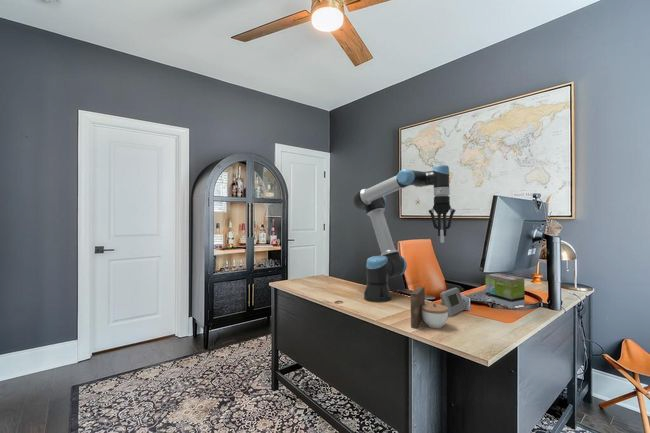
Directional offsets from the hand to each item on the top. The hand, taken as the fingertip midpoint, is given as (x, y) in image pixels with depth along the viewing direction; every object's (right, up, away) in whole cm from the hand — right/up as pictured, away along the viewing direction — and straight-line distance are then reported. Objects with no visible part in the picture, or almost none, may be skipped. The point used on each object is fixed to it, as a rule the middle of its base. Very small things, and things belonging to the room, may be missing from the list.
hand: (442, 242), depth 157 cm
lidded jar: (-13, -33, -27) cm, 44 cm away
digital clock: (+1, -33, -10) cm, 34 cm away
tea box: (+33, -32, +2) cm, 46 cm away
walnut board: (-19, -33, -23) cm, 44 cm away
